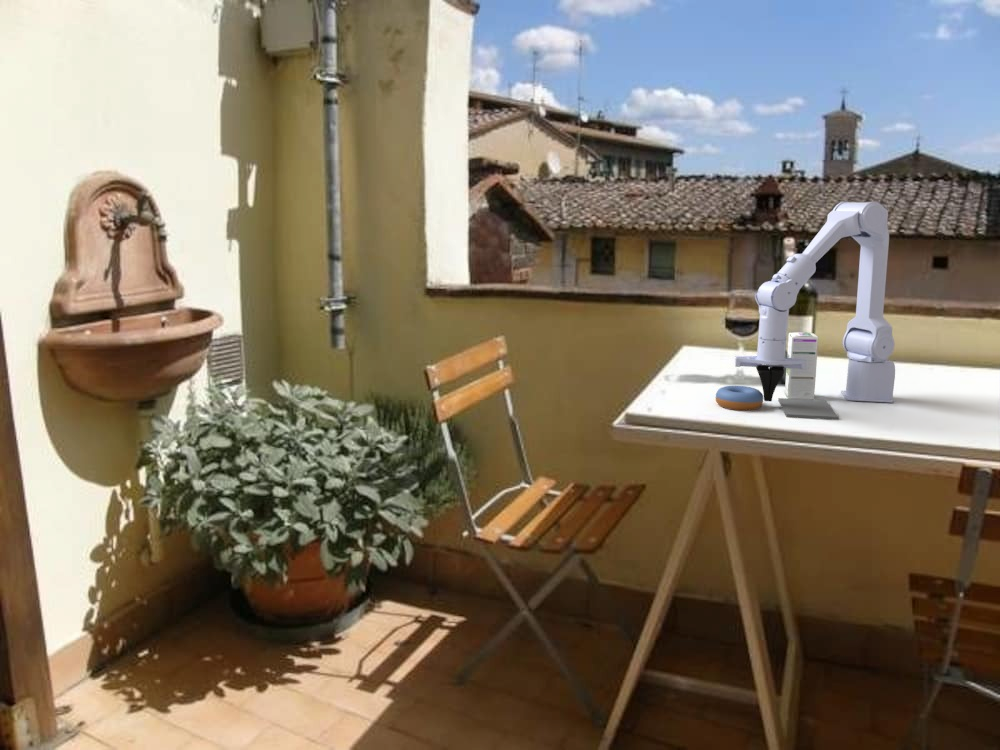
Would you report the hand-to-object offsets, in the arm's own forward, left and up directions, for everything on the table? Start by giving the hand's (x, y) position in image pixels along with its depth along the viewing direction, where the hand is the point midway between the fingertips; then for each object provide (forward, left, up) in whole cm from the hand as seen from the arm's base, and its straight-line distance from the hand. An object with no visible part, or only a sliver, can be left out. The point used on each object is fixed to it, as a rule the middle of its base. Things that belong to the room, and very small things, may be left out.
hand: (767, 400), depth 170 cm
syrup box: (-8, -11, -2) cm, 14 cm away
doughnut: (+6, 0, -2) cm, 6 cm away
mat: (-8, +1, -1) cm, 8 cm away
